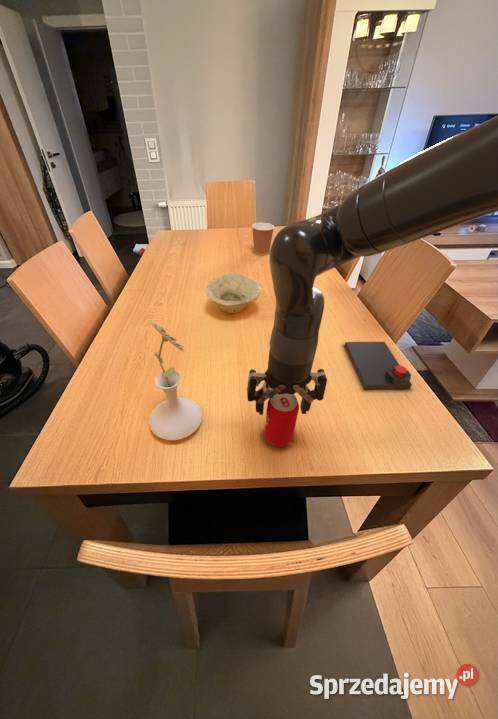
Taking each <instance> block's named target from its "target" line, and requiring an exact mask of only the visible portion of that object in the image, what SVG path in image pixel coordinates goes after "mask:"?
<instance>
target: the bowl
mask: <svg viewBox="0 0 498 719" xmlns="http://www.w3.org/2000/svg"><path fill="white" fill-rule="evenodd" d="M205 295H206V297H207V298H208V299H209V300H210V301H212V302H213V303H214V304H216V305H217V306H218V307H219V308H220V310H222V311H223V312H225V313H227V314H237V313H241V312H242V311H243V310H244V309H246V308H247V307H248V306H249V305H250V304H251V303H252V302H254V301H257V300H258V299H259V297H260V295H261V287H260V285H259V284H258V282H256V280H254V279H252V278H251V277H249V276H247V275H244V274H237V273H224V274H222V275H221V276H218V277H215V278H213V279H211V280H210V281H209V282H208V283H207V285H206V289H205Z"/></svg>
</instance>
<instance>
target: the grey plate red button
mask: <svg viewBox="0 0 498 719" xmlns="http://www.w3.org/2000/svg"><path fill="white" fill-rule="evenodd" d="M343 346H344V349H345V351H346V353H347V355H348V358H349V359H350V362H351V364H352V366H353V368H354V370H355V373H356V374H357V377H358V380H359V382H360V383H361V385H362V387H363V389H364V390H365V391H376V390H378V391H380V390H381V391H383V390H386V391H387V390H410V389H411V387H412V385H413V383H412V381H410V380H411V379H412V374H411V372H410V371H409V370H408V369H406V370H407V372H406V374H405V376H404V377H403V378H400V377H397V376H395V375H394V374H393V371H394V369H395V367H396V366H401V365H400V364H399V362H398V360H397V359H396V357H395V356H394V354H393V352H392V351H391V349H390V347H389V346H388V344H387V343H386V342H385V341H345V343H344V345H343Z"/></svg>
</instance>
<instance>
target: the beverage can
mask: <svg viewBox="0 0 498 719" xmlns="http://www.w3.org/2000/svg"><path fill="white" fill-rule="evenodd" d="M299 410H300V404H299V402H298V397H297V396H296V395H295V394H278V393H277V394H276V395H275V396H273V397H272V398H271V399H269V398H268V399H267V403H266V414H265V424H264V434H263V435H264V437H265V439H266V442H268V443H269V444H271V445H272V446H275V447H280V448H281V447H285V446H288V445H289V444H290V443H292V441H293V438H294V434H295V430H296V425H297V420H298V414H299Z"/></svg>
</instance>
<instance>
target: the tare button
mask: <svg viewBox="0 0 498 719" xmlns="http://www.w3.org/2000/svg"><path fill="white" fill-rule="evenodd" d="M407 370H408V369H407V368H406V367H405V366H402V365H400V366H396V367H395V369H394V371H393V374H394V375H395V376H397V377H400V378H403V377H404V376H405V374H406V372H407Z"/></svg>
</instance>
